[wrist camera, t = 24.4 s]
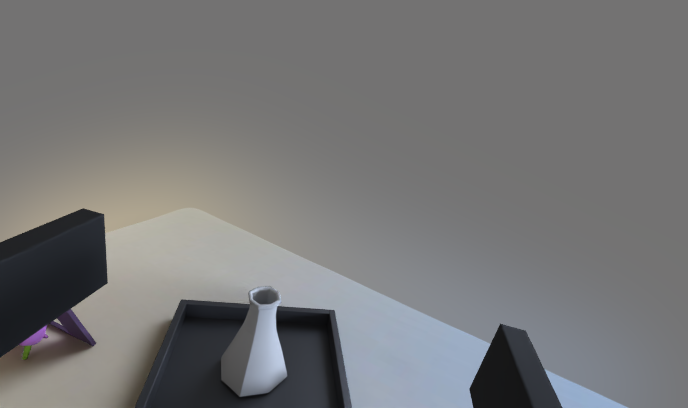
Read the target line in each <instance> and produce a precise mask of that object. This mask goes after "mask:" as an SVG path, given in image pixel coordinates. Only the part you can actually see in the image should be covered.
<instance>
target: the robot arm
mask: <svg viewBox="0 0 688 408" xmlns="http://www.w3.org/2000/svg"><path fill="white" fill-rule="evenodd" d="M107 283H108V282H107V263H106V244H105V226H104V214H101V213H97V212H93V211H90V210H87V209H81V210H78V211H76V212H74V213H71V214H68V215H66V216H64V217H61V218H59V219H56V220H54V221H52V222H49V223H46V224H44V225H42V226H39V227H37V228H34V229H32V230H29V231H27V232H25V233H22V234H20V235H17V236H15V237H13V238H10V239H7V240H5V241H3V242H0V357H2V356H3V355H5V354H6V353H7V352H9V351H10V350H12V349H13V348H15V347H16V346H18V345H19V344H20V343H22V342H23V341H25V340H26V339H28V338H29V337H30V336H32V335H33V334H35V333H36V332H38V331H39V330H41V329H42V328H43V327H45V326H46V325H48V324H49V323H51V322H52V321H54V320H55V319H56V318H58V317H59V316H61V315H62V314H64V313H65V312H66V311H68V310H69V309H71V308H72V307H74V306H75V305H77V304H78V303H79V302H81V301H82V300H84V299H85V298H87V297H88V296H89V295H91V294H92V293H94V292H95V291H97V290H98V289H100V288H101V287H102V286H104V285H105V284H107ZM470 394H471V398H472V403H473V408H562V406H561V404H560V402H559V400H558V398H557V395H556V393H555V391H554V389H553V387H552V385H551V383H550V381H549V379H548V377H547V374H546V372H545V370H544V368H543V366H542V364H541V362H540V360H539V358H538V356H537V353H536V351H535V349H534V347H533V345H532V343H531V341H530V339H529V337H528V335H527V332H526V331H524V330H521V329H517V328H514V327H510V326H506V325H503V324H500V326H499V328H498V330H497V332H496V334H495V337H494V338H493V340H492V343H491V345H490V347H489V349H488V351H487V353H486V355H485V357H484V359H483V361H482V364H481V366H480V368H479V370H478V372H477V374H476V376H475V378H474V380H473V383H472V385H471V387H470Z"/></svg>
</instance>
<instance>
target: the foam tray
mask: <svg viewBox="0 0 688 408" xmlns="http://www.w3.org/2000/svg"><path fill="white" fill-rule="evenodd" d="M249 308H250V304H239V303H224V302H210V301H196V300H181V301H180V303H179V306H178V308H177V310H176V313H175V315H174V317H173V320H172V322H171V324H170V326H169V329H168V331H167V333H166V336H165V338H164V340H163V343H162V345H161V347H160V350H159V352H158V354H157V357H156V359H155V361H154V364H153V366H152V368H151V371H150V373H149V375H148V378H147V380H146V382H145V385H144V387H143V389H142V392H141V394H140V396H139V399H138V401H137V403H136V406H135V408H352V406H351V400H350V394H349V389H348V383H347V378H346V372H345V366H344V361H343V355H342V350H341V344H340V338H339V333H338V327H337V321H336V316H335V311H334V310H325V309H310V308H296V307H282V306H277V310H276V330H277V334H278V338H279V342H280V345H281V349H282V352H283V357H284V362H285V366H286V371H287V377H286V378H285V379H284V380H283V381H282V382H280V383H279V384H278V385H277V386H276V387H275V388H274V389H272V390H271V391H270V392H269V393H264V394H257V395H249V396H242V397H240V396H238V395H237V394H236V393H235V392H234V391H233V390H232V389H231V388H230V387H229V386H228V385H227V384H226V383H224V382H223V381H222V380H221V357H222V355H223V354H224V352H225V351H226V349H227V348H228V346H229V345H230V344H231V342H232V341H233V339H234V338H235V336H236V334H237V333H238V331H239V330H240V328H241V326H242V325H243V323H244V321H245V319H246V316H247V314H248V311H249Z"/></svg>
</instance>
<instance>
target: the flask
mask: <svg viewBox="0 0 688 408" xmlns="http://www.w3.org/2000/svg"><path fill="white" fill-rule="evenodd" d="M249 301H250V308H249V311H248V314H247V316H246V319H245V321H244V323H243V325H242V326H241V328H240V330H239V331H238V333H237V334H236V336H235V338H234V339H233V341H232V342H231V344H230V345H229V346H228V348H227V349H226V351H225V352H224V354H223V355H222V357H221V380H222V381H223V382H224V383H226V384H227V385H228V386H229V387H230V388H231V389H232V390H233V391H234V392H235V393H236V394H237V395H238V396H240V397H242V396H249V395H257V394H264V393H269V392H270V391H271V390H272V389H274V388H275V387H276V386H277V385H278V384H279V383H280V382H282V381H283V380H284V379H285V378H286V377H287V371H286V366H285V362H284V357H283V352H282V349H281V345H280V342H279V338H278V334H277V330H276V310H277V306H278V305H279V304H280V303H281V297H280V293H279V292H278V291H277V290H275V289H274V288H272V287H271V286H265V287H257V288H255V289H253V290H251V291H249Z"/></svg>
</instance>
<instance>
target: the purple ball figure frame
mask: <svg viewBox="0 0 688 408" xmlns="http://www.w3.org/2000/svg"><path fill="white" fill-rule="evenodd" d="M57 319H58V320H59V321H60V322H61V324H62V325H63V326H62V325H60V324H58V323H56V322H54V321H52V322H51V323H49V324H50V325H52V326H54V327H56V328H58V329H60V330H62V331H64V332H66V333H68V334H70V335H72V336H74V337H76V338H78V339H80V340H81V341H83V342H85V343H87V344H89V345H91V346H94V345H95V344H96V342H95V341H94V339H93V338H92V337H91V335H90V334H89V333H88V331H87V330H86V329H85V327H84V326H83V325H82V323H81V322H80V321H79V319H78V318H77V317H76V315H75V314H74V312H73V311H72V310H71V309H69V310H68V311H66V312H65V313H64V314H62V315H61V316H59V317H58V318H57ZM46 328H47V325H46V326H45V327H43V328H42V329H41V330H39V331H38V332H36V333H35V334H33V335H32V336H30V337H29V338H28V339H26V340H25V341H23V342H22V343H20V344H19V345H21V346H24V350H23V351H24V353H22V354H21V355H23V357H22V358H21V359H23V360H26V359H27V358H28V355H29V352H30V350H31V346H32V345H35V344H37V343H38V342H39V341H40V340H41V339H42V338H48V336H47V335H46V334H45V331H46Z"/></svg>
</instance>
